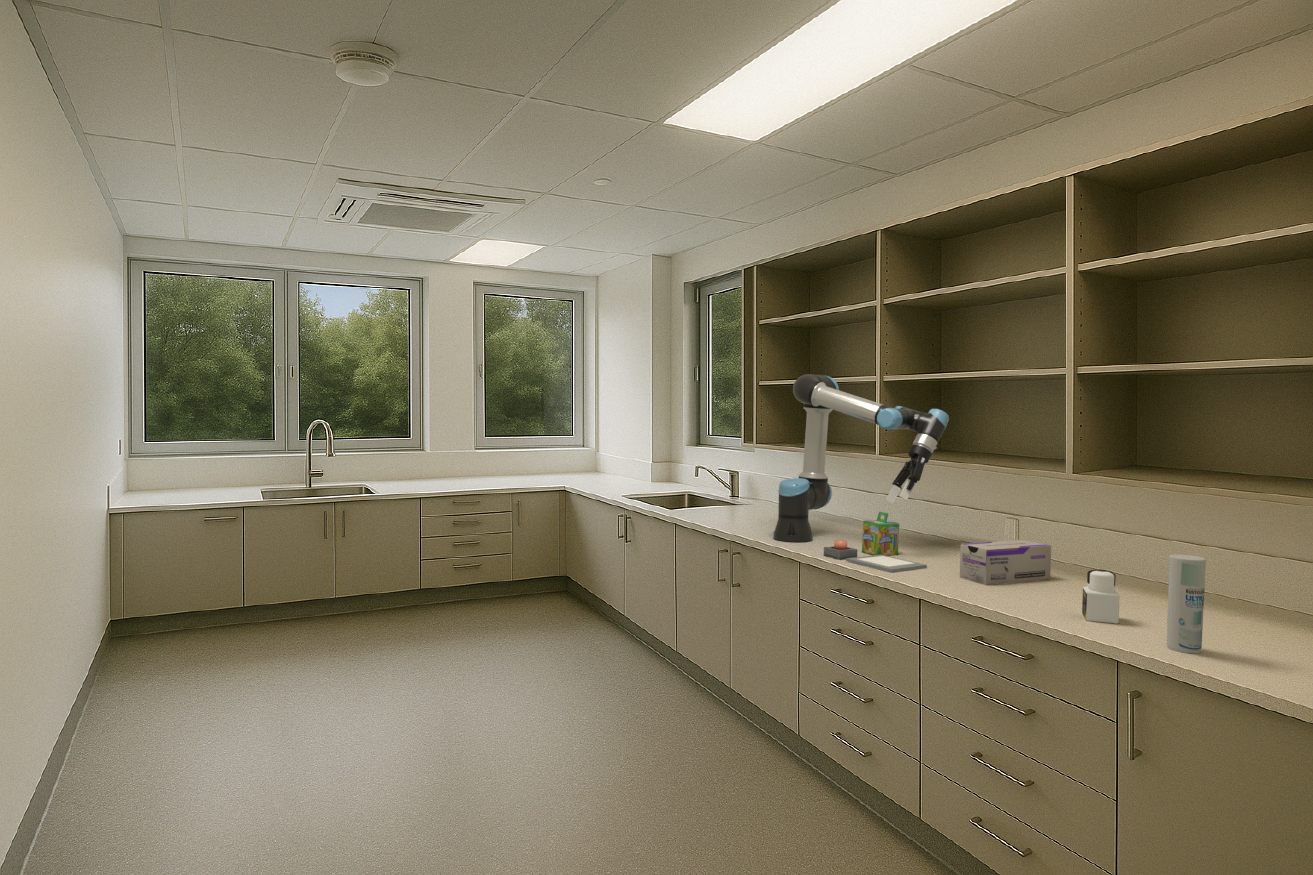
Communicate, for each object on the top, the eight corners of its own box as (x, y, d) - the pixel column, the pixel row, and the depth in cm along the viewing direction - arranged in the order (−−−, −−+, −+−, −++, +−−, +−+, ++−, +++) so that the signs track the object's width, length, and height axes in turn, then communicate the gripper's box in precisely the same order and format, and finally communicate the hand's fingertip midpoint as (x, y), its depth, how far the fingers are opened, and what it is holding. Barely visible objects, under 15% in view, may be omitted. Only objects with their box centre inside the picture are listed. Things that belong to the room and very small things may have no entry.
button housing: (823, 555, 272) (823, 547, 271) (840, 553, 276) (841, 545, 275) (839, 559, 265) (840, 550, 264) (857, 557, 269) (857, 549, 268)
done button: (831, 549, 271) (831, 540, 271) (840, 548, 273) (841, 539, 273) (840, 551, 267) (840, 542, 267) (849, 550, 269) (850, 541, 269)
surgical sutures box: (1022, 573, 248) (1023, 539, 247) (1050, 580, 238) (1051, 545, 237) (959, 578, 239) (960, 543, 238) (985, 585, 229) (986, 549, 228)
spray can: (1182, 654, 165) (1185, 560, 164) (1158, 644, 172) (1162, 554, 171) (1209, 653, 166) (1213, 559, 165) (1185, 643, 172) (1188, 554, 172)
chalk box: (861, 552, 279) (862, 511, 279) (881, 550, 283) (882, 510, 282) (878, 557, 271) (879, 514, 270) (899, 555, 275) (900, 513, 274)
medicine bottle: (1081, 613, 197) (1083, 566, 197) (1114, 617, 195) (1115, 569, 194) (1085, 620, 191) (1086, 572, 190) (1118, 624, 188) (1120, 574, 188)
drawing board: (846, 561, 262) (846, 557, 262) (880, 557, 270) (880, 553, 270) (891, 572, 245) (891, 568, 245) (926, 567, 253) (926, 564, 253)
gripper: (946, 448, 267) (919, 502, 263) (917, 459, 291) (892, 508, 287) (927, 437, 267) (899, 490, 263) (900, 449, 291) (874, 498, 287)
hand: (895, 500), depth 275 cm, fingers open, 13 cm apart
